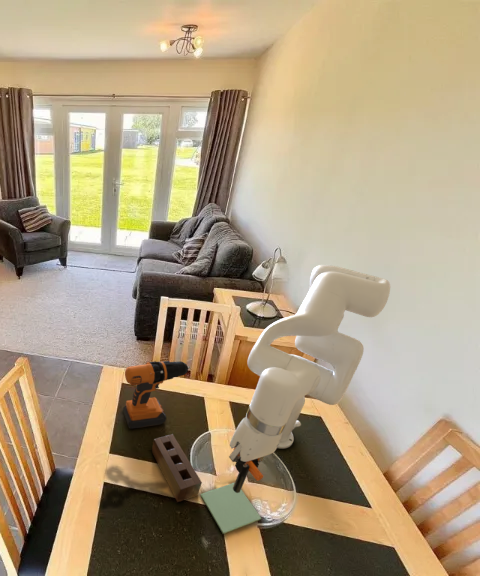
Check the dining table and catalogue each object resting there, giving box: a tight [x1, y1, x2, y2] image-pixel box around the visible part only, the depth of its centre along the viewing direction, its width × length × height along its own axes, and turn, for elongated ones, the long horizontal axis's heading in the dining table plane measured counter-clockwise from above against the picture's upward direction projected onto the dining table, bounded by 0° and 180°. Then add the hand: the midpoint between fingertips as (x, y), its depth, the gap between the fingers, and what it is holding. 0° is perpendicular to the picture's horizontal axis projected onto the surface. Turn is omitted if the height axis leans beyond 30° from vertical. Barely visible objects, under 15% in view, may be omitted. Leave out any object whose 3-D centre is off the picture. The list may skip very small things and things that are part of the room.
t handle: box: [233, 447, 264, 493], centre depth 79 cm, size 2×8×12 cm, turn 18°
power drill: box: [122, 360, 191, 429], centre depth 106 cm, size 22×7×25 cm, turn 101°
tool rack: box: [151, 433, 203, 503], centre depth 93 cm, size 7×16×6 cm, turn 18°
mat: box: [200, 482, 262, 535], centre depth 86 cm, size 12×10×1 cm
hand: (244, 469), depth 78 cm, fingers closed on t handle, 2 cm apart
